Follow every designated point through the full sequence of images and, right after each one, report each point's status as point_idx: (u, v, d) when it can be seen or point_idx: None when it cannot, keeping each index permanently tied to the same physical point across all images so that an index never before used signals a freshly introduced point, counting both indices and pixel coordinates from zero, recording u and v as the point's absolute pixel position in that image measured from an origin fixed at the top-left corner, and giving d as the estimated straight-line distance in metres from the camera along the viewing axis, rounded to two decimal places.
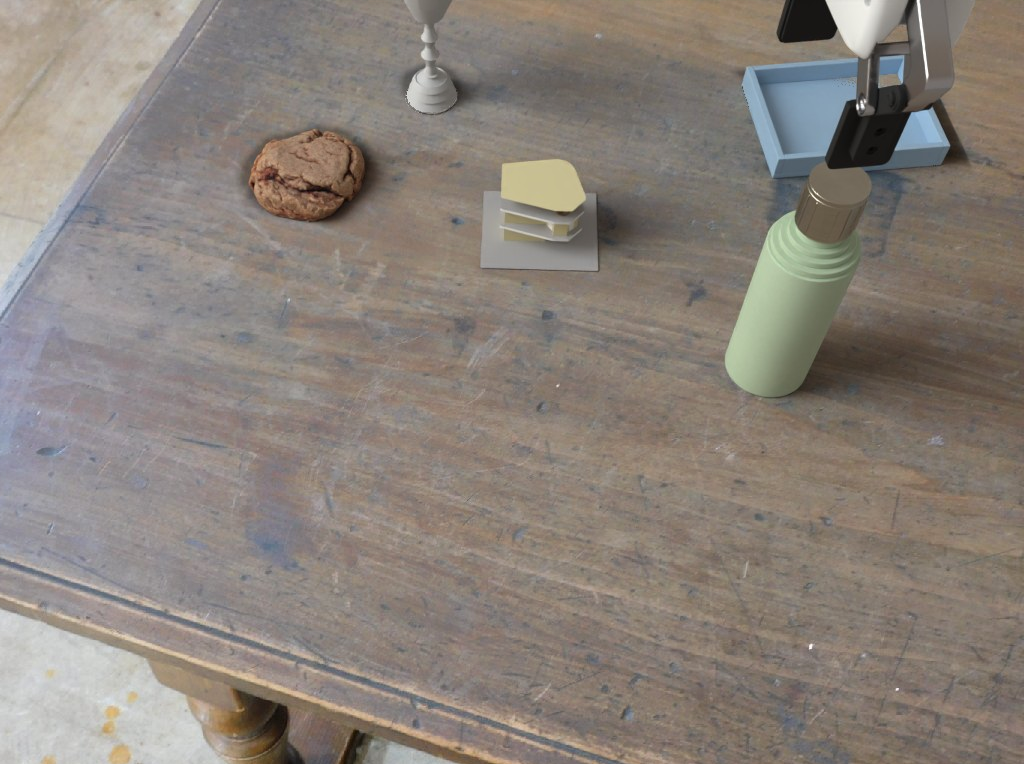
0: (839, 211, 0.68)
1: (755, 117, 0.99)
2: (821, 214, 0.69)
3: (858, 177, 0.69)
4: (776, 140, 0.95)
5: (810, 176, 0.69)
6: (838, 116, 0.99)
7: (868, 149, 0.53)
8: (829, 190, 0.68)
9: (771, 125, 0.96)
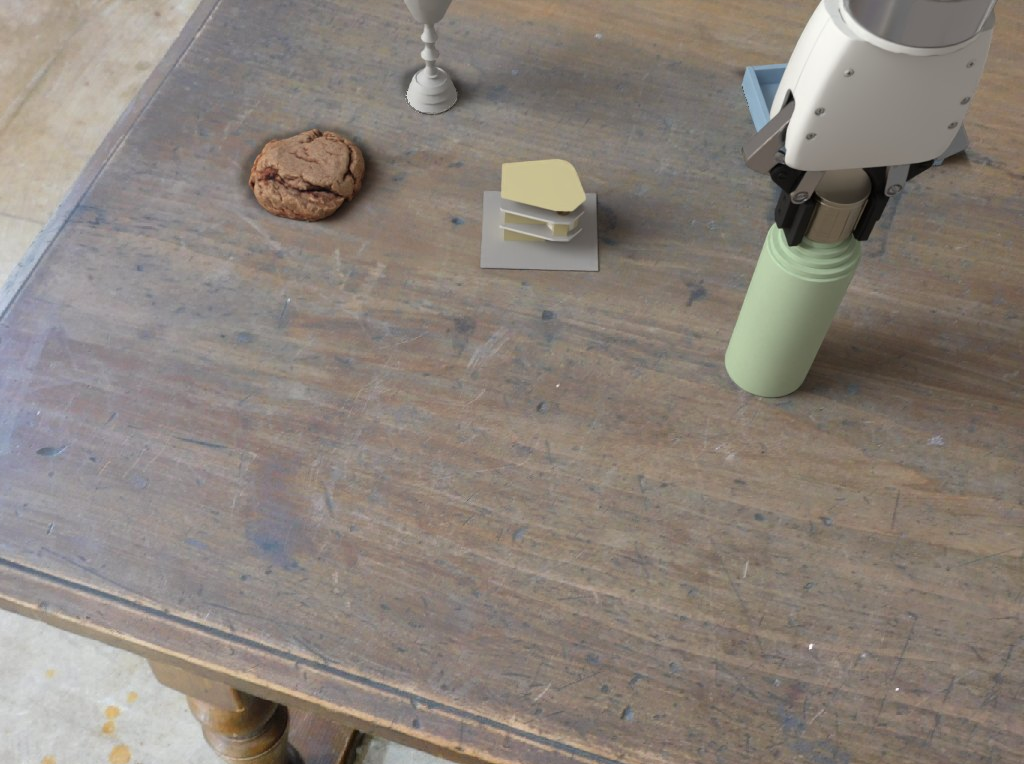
0: (839, 211, 0.68)
1: (755, 117, 0.99)
2: (821, 214, 0.69)
3: (858, 177, 0.69)
4: None
5: None
6: None
7: None
8: (829, 190, 0.68)
9: None
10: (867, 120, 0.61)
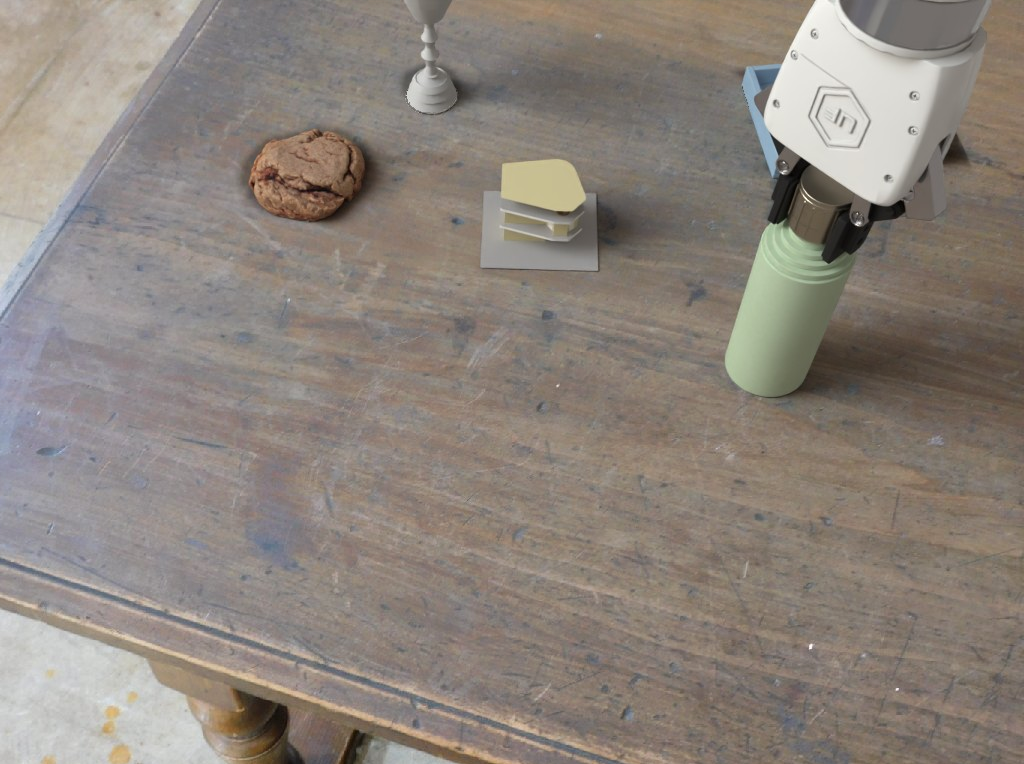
0: None
1: (755, 117, 0.99)
2: None
3: (814, 173, 0.69)
4: None
5: (847, 203, 0.67)
6: None
7: None
8: None
9: None
10: None
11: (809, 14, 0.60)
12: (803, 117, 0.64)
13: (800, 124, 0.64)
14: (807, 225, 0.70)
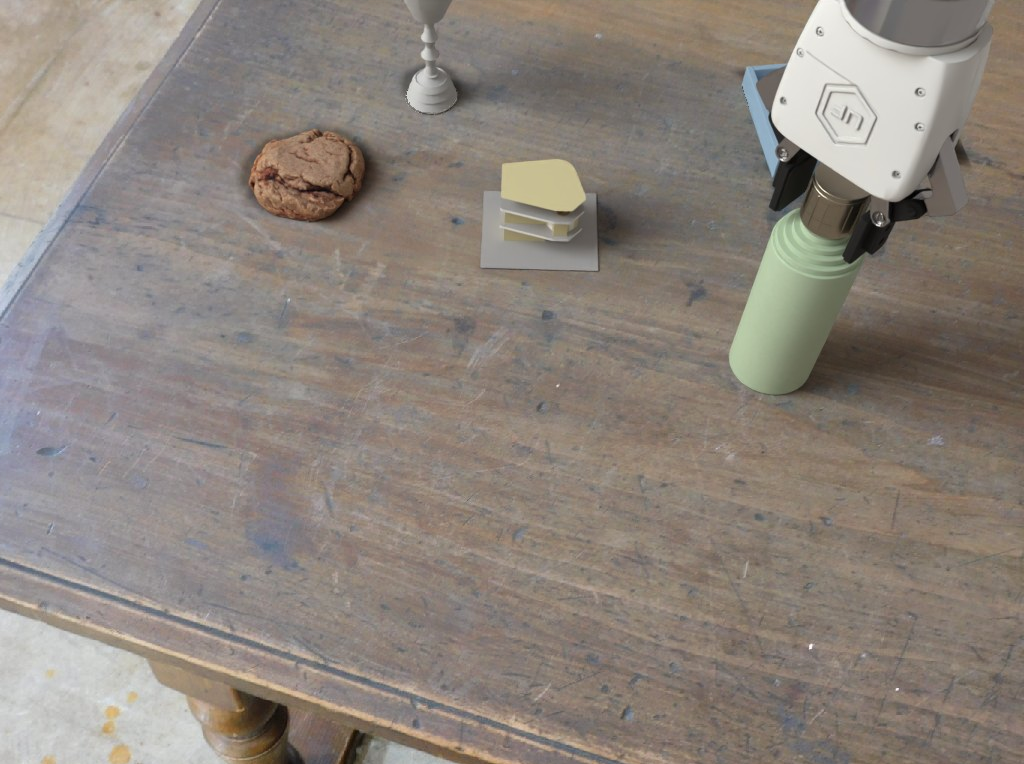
0: None
1: (755, 117, 0.99)
2: None
3: (828, 168, 0.69)
4: (776, 140, 0.95)
5: (862, 197, 0.68)
6: None
7: None
8: None
9: None
10: None
11: (814, 12, 0.60)
12: (810, 114, 0.64)
13: (807, 121, 0.64)
14: (820, 220, 0.70)
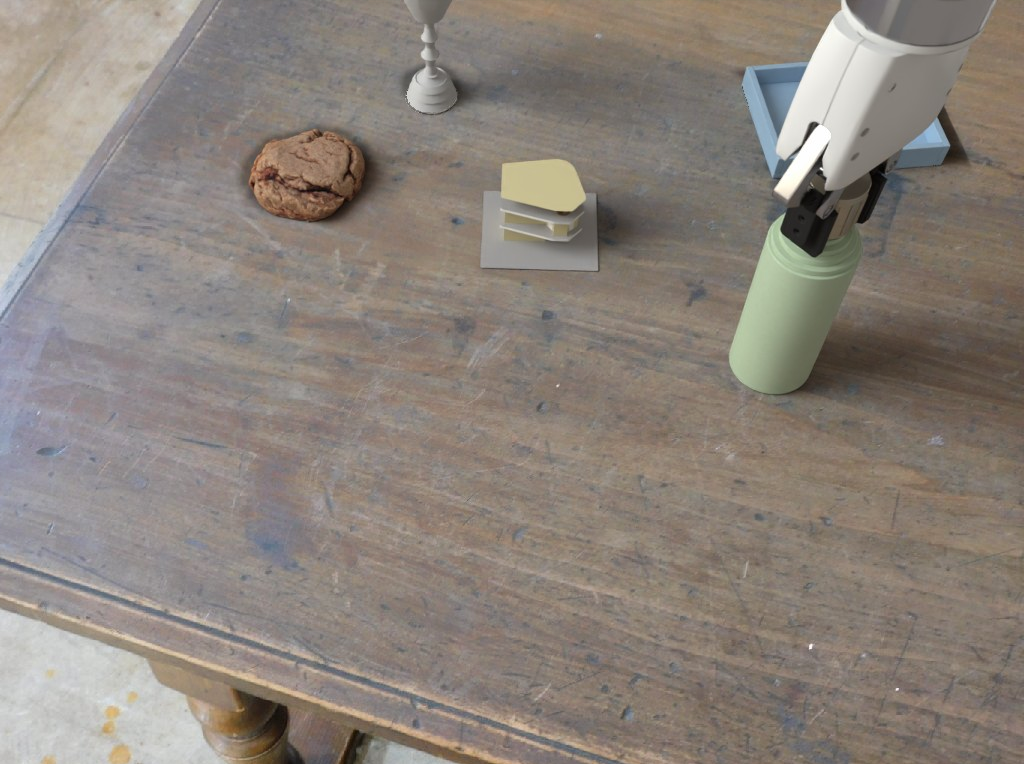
0: None
1: (755, 117, 0.99)
2: None
3: (820, 177, 0.69)
4: (776, 140, 0.95)
5: (867, 189, 0.68)
6: None
7: None
8: None
9: (771, 125, 0.96)
10: (898, 121, 0.61)
11: None
12: None
13: None
14: None
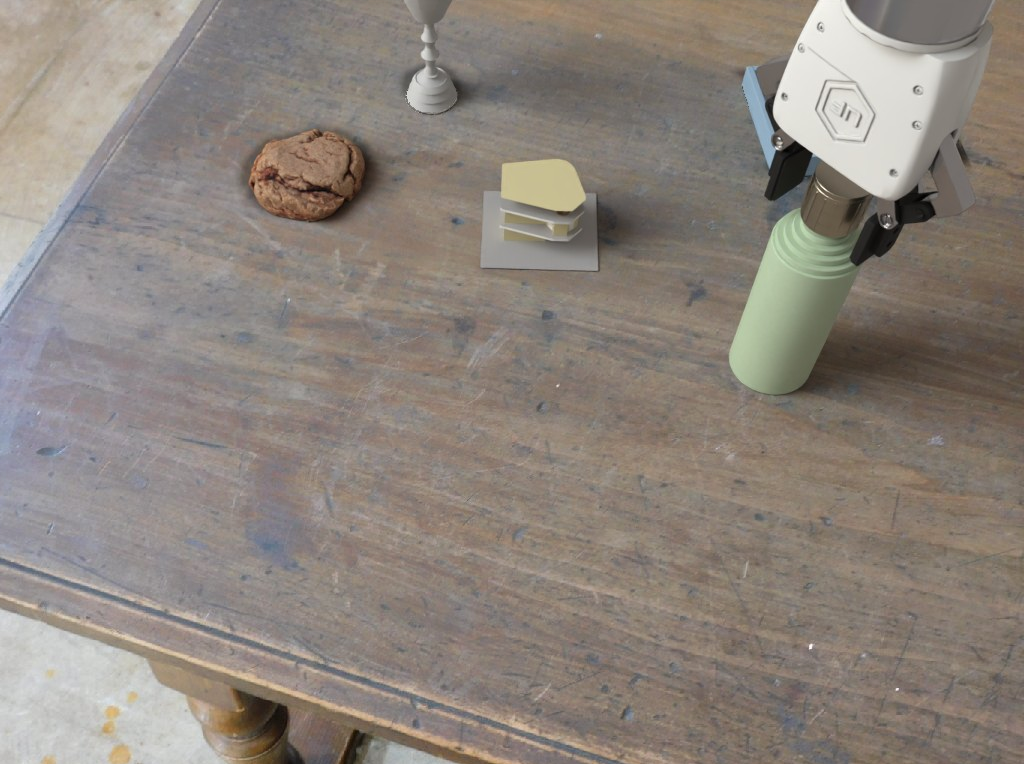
0: (814, 175, 0.70)
1: (755, 117, 0.99)
2: None
3: (850, 190, 0.68)
4: None
5: None
6: None
7: None
8: None
9: (771, 125, 0.96)
10: None
11: (816, 7, 0.60)
12: (810, 110, 0.64)
13: (807, 117, 0.64)
14: None
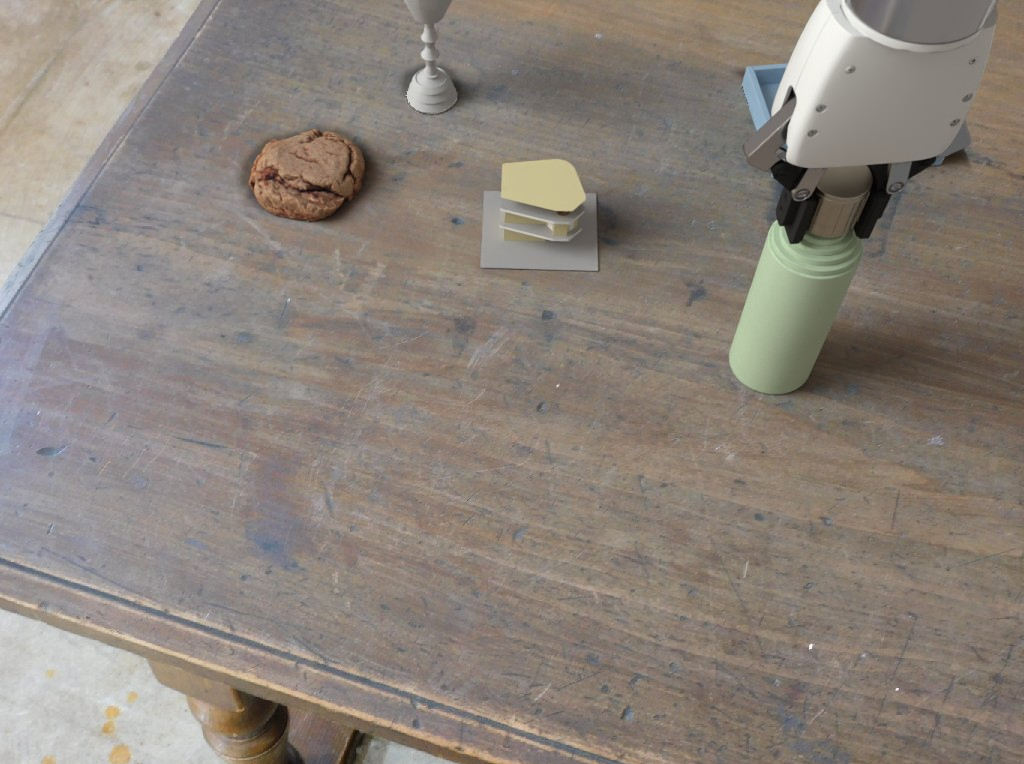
0: None
1: (755, 117, 0.99)
2: None
3: (844, 190, 0.68)
4: None
5: None
6: None
7: None
8: None
9: None
10: (869, 117, 0.61)
11: None
12: None
13: None
14: None
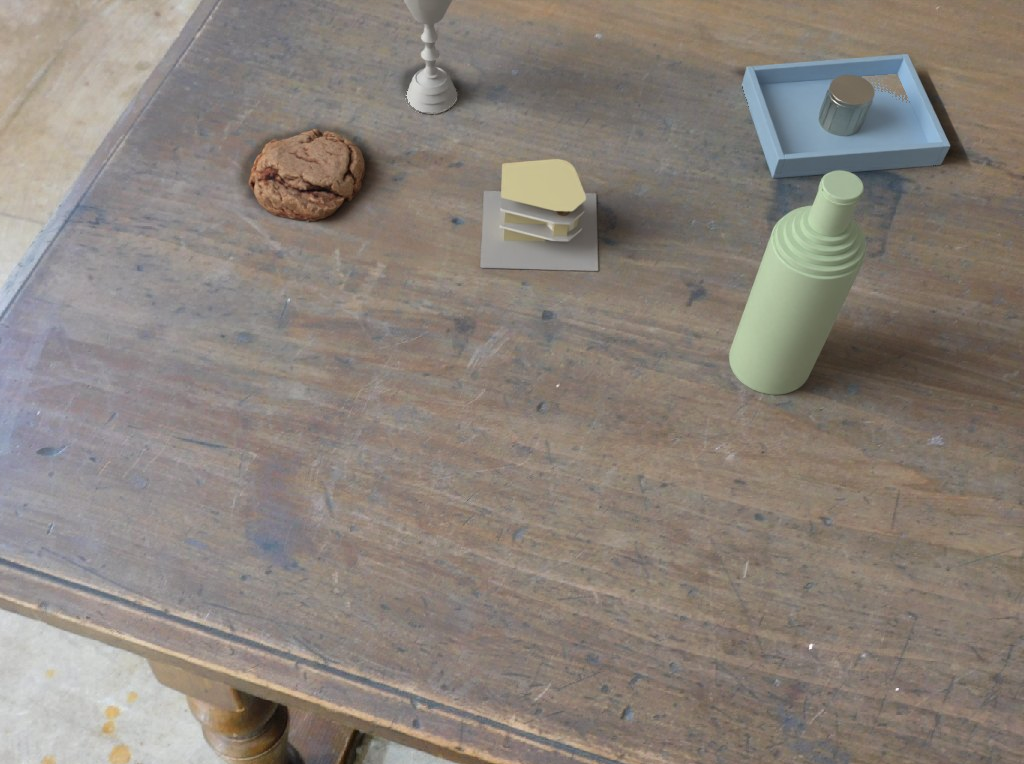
0: (870, 100, 0.96)
1: (755, 117, 0.99)
2: (865, 112, 0.96)
3: (849, 79, 0.96)
4: (776, 140, 0.95)
5: (844, 102, 0.95)
6: None
7: None
8: (860, 97, 0.95)
9: (771, 125, 0.96)
10: None
11: None
12: None
13: None
14: (822, 109, 0.98)
